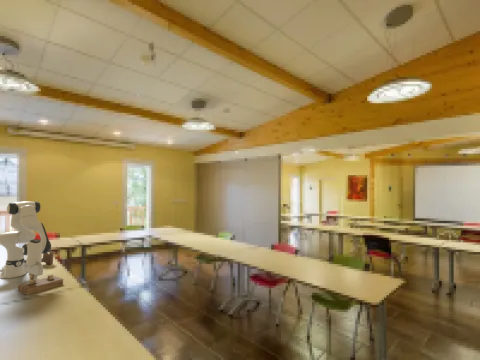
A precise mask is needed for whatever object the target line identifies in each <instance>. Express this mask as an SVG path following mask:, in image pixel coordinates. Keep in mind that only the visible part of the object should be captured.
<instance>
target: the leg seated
mask: <svg viewBox="0 0 480 360" xmlns="http://www.w3.org/2000/svg"><path fill="white" fill-rule="evenodd" d="M53 276H54V274H48V275H47V277H48V279H47V281H50V280H53Z"/></svg>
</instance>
